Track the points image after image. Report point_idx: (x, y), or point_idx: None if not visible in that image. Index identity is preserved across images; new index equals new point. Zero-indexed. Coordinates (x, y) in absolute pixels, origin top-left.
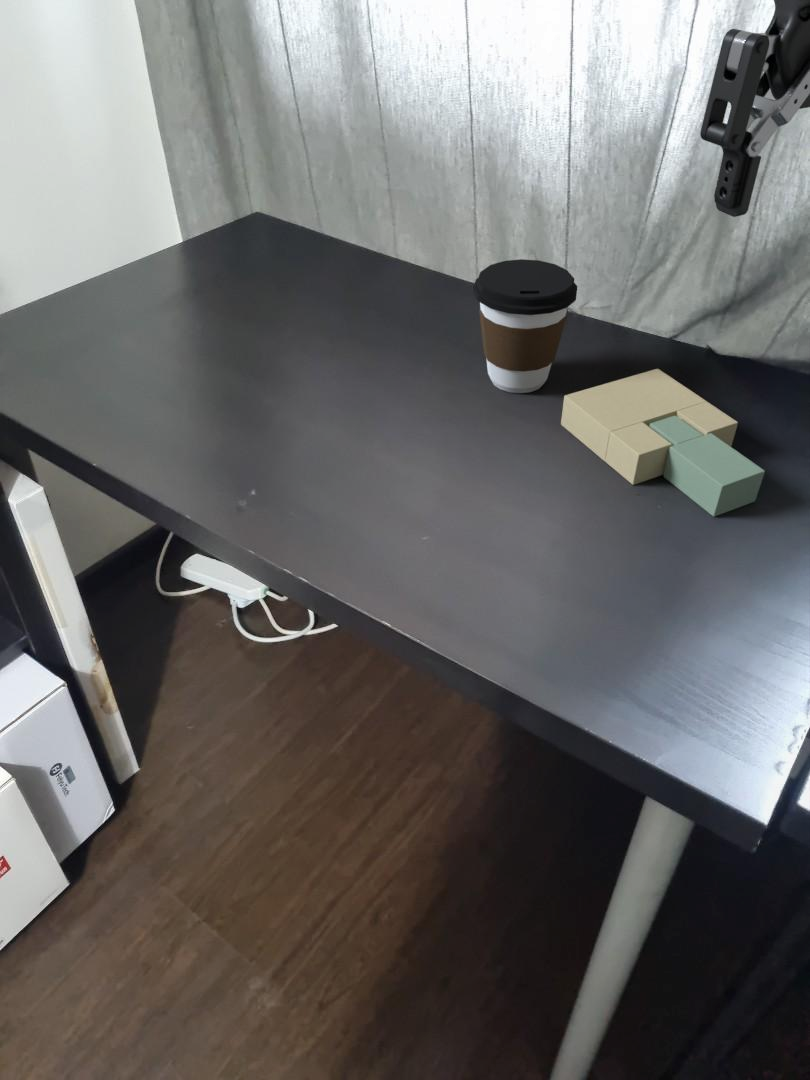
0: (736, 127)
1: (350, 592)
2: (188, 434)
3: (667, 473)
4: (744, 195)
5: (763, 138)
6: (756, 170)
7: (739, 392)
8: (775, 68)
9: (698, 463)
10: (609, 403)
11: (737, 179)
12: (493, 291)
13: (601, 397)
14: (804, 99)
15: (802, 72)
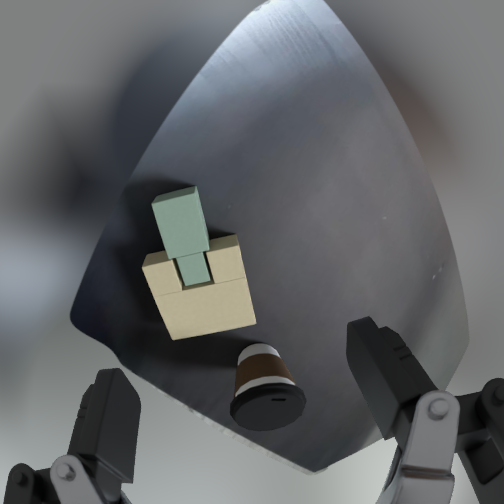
0: None
1: (429, 188)
2: (434, 324)
3: (208, 236)
4: (383, 339)
5: (431, 429)
6: (390, 379)
7: (111, 315)
8: None
9: (198, 224)
10: (228, 309)
11: (409, 364)
12: (302, 401)
13: (230, 316)
14: None
15: None
